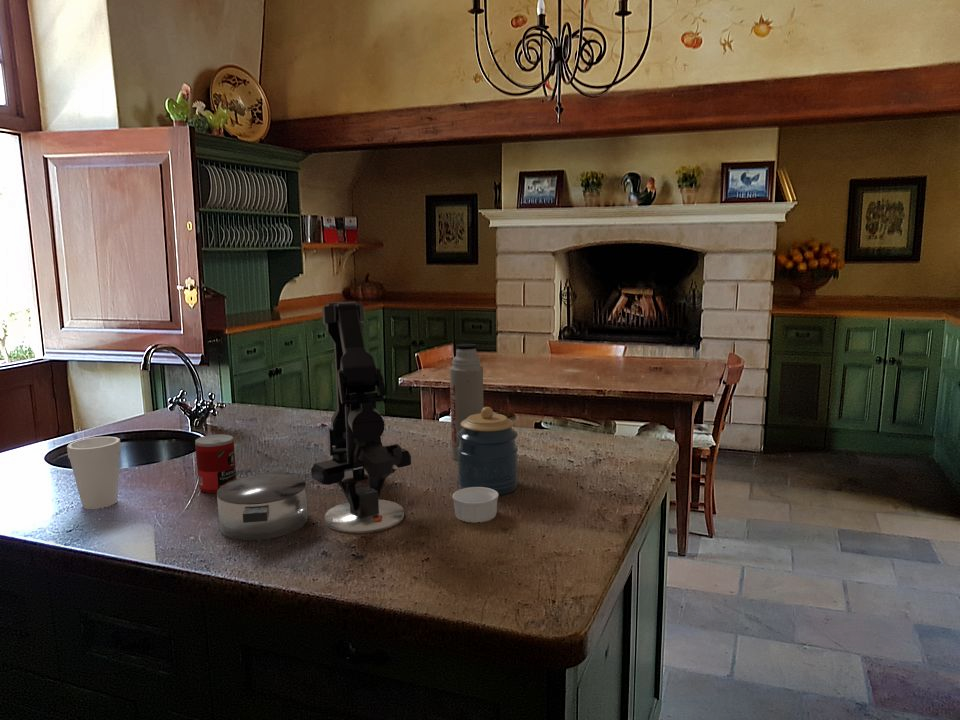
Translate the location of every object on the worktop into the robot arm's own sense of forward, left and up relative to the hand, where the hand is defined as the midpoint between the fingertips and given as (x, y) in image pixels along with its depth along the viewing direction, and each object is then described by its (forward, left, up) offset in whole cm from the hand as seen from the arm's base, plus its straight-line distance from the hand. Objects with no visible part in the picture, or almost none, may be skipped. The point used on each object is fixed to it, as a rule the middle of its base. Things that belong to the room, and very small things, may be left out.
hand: (364, 507), depth 136 cm
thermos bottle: (-39, -18, -2) cm, 43 cm away
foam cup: (+38, -42, -2) cm, 57 cm away
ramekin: (-17, +13, -2) cm, 22 cm away
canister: (-29, +2, -2) cm, 29 cm away
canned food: (+16, -36, -2) cm, 39 cm away
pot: (+16, -10, -2) cm, 19 cm away
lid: (0, 0, -2) cm, 2 cm away
